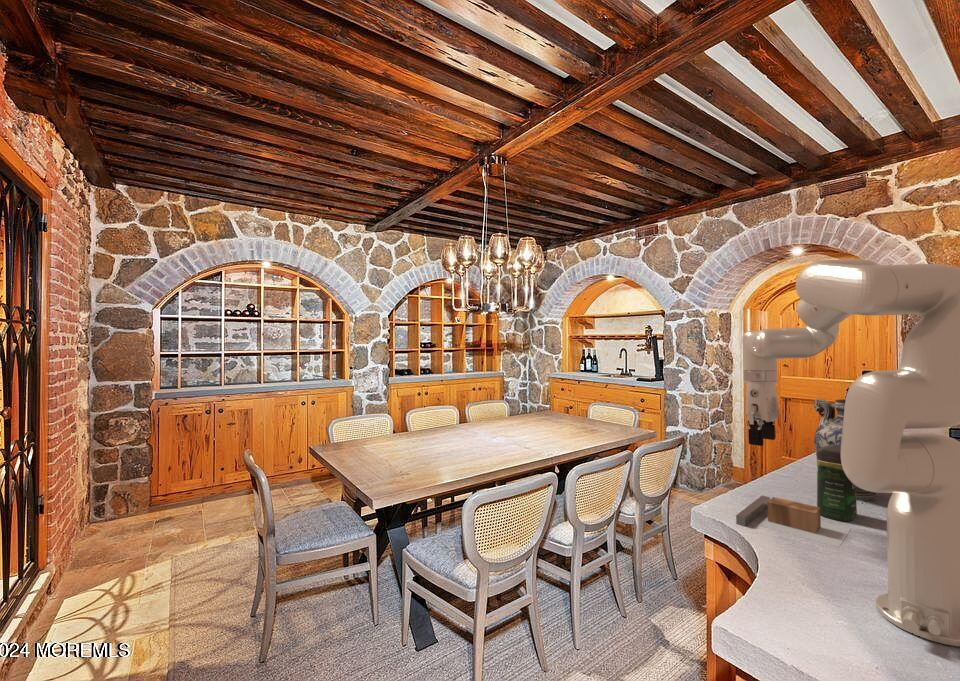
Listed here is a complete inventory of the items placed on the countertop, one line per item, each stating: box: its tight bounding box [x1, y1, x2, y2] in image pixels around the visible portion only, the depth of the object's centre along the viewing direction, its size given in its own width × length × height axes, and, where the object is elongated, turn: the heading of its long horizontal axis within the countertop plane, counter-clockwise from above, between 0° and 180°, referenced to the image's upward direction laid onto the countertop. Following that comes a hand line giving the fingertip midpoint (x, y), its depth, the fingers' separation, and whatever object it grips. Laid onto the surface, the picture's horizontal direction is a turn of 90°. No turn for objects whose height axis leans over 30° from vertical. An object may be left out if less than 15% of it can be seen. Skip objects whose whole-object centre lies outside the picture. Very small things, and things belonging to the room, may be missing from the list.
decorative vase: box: [813, 398, 879, 501], centre depth 130 cm, size 21×19×28 cm
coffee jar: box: [816, 444, 858, 523], centre depth 115 cm, size 10×8×19 cm
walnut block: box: [767, 496, 822, 534], centre depth 110 cm, size 5×5×10 cm
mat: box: [758, 516, 852, 548], centre depth 108 cm, size 14×16×1 cm
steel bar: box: [735, 495, 771, 527], centre depth 117 cm, size 20×2×2 cm, turn 131°
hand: (762, 441), depth 115 cm, fingers open, 9 cm apart
